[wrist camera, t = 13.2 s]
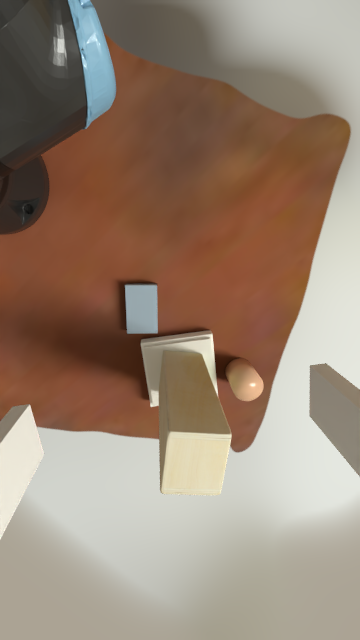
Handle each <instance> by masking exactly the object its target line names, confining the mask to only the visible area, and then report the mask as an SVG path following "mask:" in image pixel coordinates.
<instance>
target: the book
mask: <svg viewBox="0 0 360 640" xmlns="http://www.w3.org/2000/svg"><path fill="white" fill-rule="evenodd" d="M125 296H126V319H127V334H137V333H158V322H157V284H126V285H125Z"/></svg>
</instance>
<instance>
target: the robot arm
mask: <svg viewBox="0 0 360 640" xmlns="http://www.w3.org/2000/svg"><path fill="white" fill-rule="evenodd" d="M115 95H116V81H115V75H114V70H113V65H112V61H111V57H110V53H109V50H108V46H107V43H106V40H105V37H104V33H103V30H102V27H101V24H100V21H99V19H98V16H97V13H96V10H95V8H94V6H93V5H92V3H91V2H90V0H0V234H13V233H17V232H20V231H23V230H25V229H27V228H28V227H30V226H31V225H32V224H34V223H35V222H36V221H37V220H38V219H39V217H40V216H41V214H42V213H43V211H44V209H45V207H46V204H47V201H48V196H49V178H48V173H47V169H46V166H45V163H44V161H43V159H42V157H41V154H43V153H44V152H46V151H48V150H49V149H51V148H52V147H54V146H56V145H57V144H59V143H60V142H62V141H64V140H65V139H67V138H68V137H70V136H72V135H73V134H75V133H76V132H78V131H80V130H81V129H82V130H84V129H86V128H87V127H88V126H89V125H90V123H91V122H92V121H93V120H95V119H96V118H97V117H99V116H100V115H102V114H103V113H104V112H106V111H107V110H108V109H109V108H110V107H111V105H112V104H113V101H114V99H115ZM310 417H311V418H312V419H313V421H314V422H315V423H316V424H317V425H318V427H319V428H320V429H321V430H322V431H323V433H324V434H325V435H326V436H327V438H328V439H329V440H330V441H331V442H332V444H333V445H334V446H335V447H336V448H337V450H338V451H339V452H340V453H341V454H342V456H343V457H344V458H345V459H346V460H347V462H348V463H349V464H350V465H351V467H352V468H353V469H354V470H355V471H356V473H357V474H358V475H359V476H360V390H359V389H358V388H357V387H355V386H354V385H353V384H352V383H350V382H349V381H348V380H346V379H345V378H344V377H343V376H341V375H340V374H339V373H337V372H336V371H335V370H334V369H332V368H331V367H330V366H328V365H327V364H326V363H325V364H318V365H311V366H310ZM43 456H44V451H43V448H42V445H41V441H40V438H39V434H38V431H37V427H36V424H35V421H34V417H33V414H32V410H31V407H30V404H28V405H21V406H14V407H12V408H11V409H10V411H9V412H8V413H7V414H6V415H5V417H4V418H3V419H2V420H1V421H0V539H1V537H2V535H3V533H4V531H5V529H6V527H7V525H8V523H9V522H10V520H11V518H12V515H13V514H14V512H15V510H16V508H17V506H18V504H19V502H20V500H21V498H22V496H23V494H24V492H25V490H26V489H27V487H28V485H29V483H30V481H31V479H32V477H33V475H34V473H35V471H36V469H37V467H38V465H39V463H40V462H41V459H42V458H43Z"/></svg>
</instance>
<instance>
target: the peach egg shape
mask: <svg viewBox="0 0 360 640" xmlns="http://www.w3.org/2000/svg"><path fill="white" fill-rule="evenodd" d="M225 374H226V377H227V379H228V381H229V383H230V386H231V388H232V390H233V392H234V394H235V396H236V397H237V398H239V399H240V400H243V401H250V400H254V399H255V398H257V397H258V396H259V395H260V394H261V393H262V391H263V381H262V379H261V378H260V376H259V375H258V373H257V372H256V371H255V369H254V368H253V366H252V365H251V363H250V362H249V361H247V360H246V359H242V358H238V359H234V360H232V361H231V362H230V363H229V364H228V365H227V367H226V370H225Z"/></svg>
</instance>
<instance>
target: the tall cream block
mask: <svg viewBox="0 0 360 640" xmlns="http://www.w3.org/2000/svg"><path fill="white" fill-rule="evenodd" d="M159 441H160V442H159V444H160V491H161V493H162V494H185V495H219V494H220V493H221V489H222V484H223V479H224V473H225V468H226V463H227V457H228V453H229V448H230V442H231V430H230V428H229V425H228V423H227V420H226V417H225V414H224V412H223V409H222V406H221V404H220V401H219V398H218V396H217V393H216V390H215V388H214V385H213V383H212V380H211V377H210V375H209V372H208V369H207V366H206V364H205V361H204V358H203V355H202V354H200V353H192V352H179V351H163V355H162V364H161V373H160V383H159Z"/></svg>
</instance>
